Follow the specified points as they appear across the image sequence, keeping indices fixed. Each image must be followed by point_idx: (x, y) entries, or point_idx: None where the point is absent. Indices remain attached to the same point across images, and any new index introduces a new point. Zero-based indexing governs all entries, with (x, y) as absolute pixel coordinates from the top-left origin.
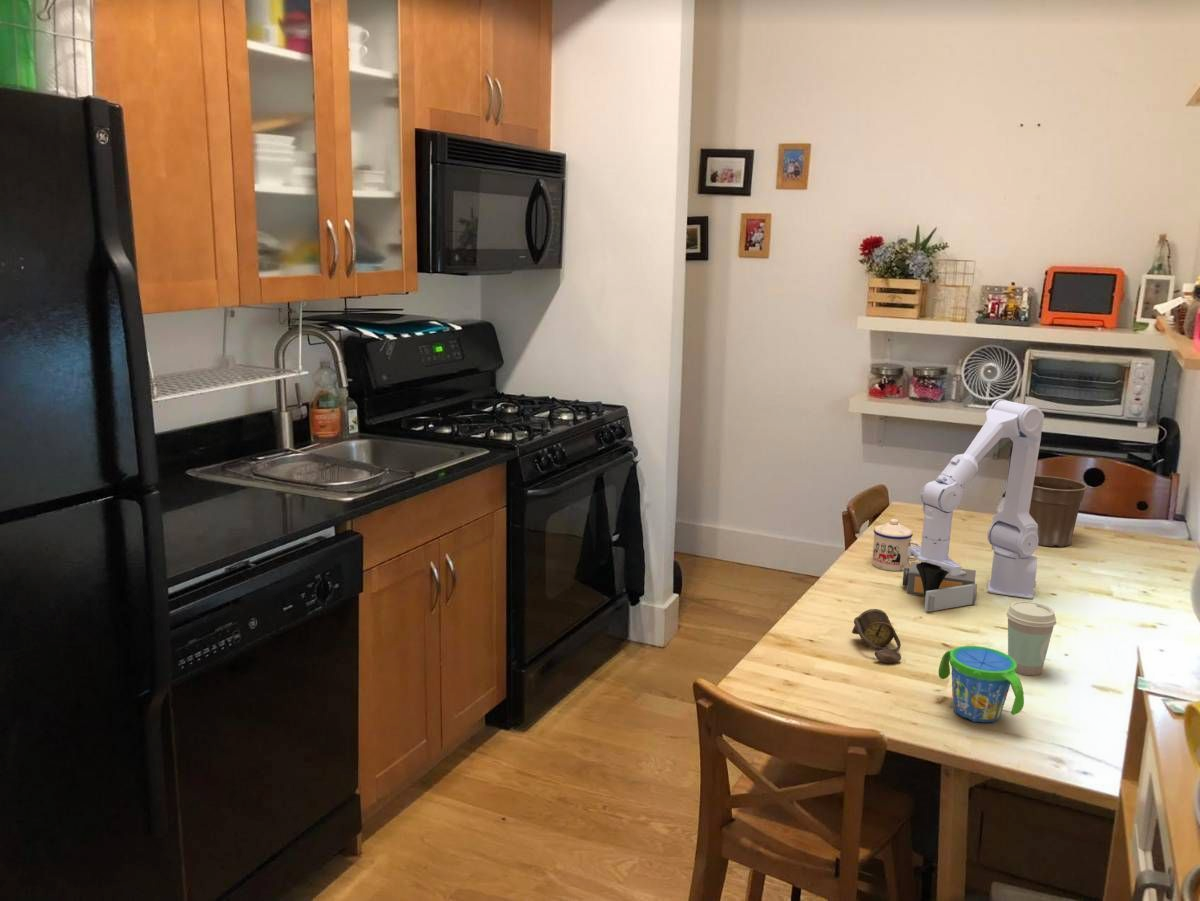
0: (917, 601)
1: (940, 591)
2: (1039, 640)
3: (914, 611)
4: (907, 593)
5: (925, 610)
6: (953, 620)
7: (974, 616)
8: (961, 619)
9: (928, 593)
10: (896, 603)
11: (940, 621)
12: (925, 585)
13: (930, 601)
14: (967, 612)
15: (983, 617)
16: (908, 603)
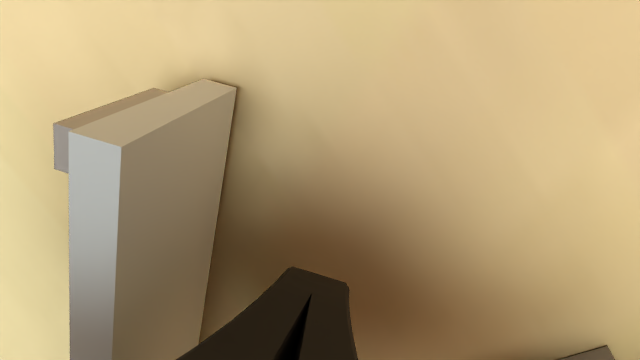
0: (431, 256)
1: (78, 301)
2: None
3: (295, 15)
4: (599, 349)
5: (218, 84)
6: (15, 121)
7: (30, 296)
8: (14, 186)
9: (84, 127)
10: (546, 49)
11: (29, 8)
12: (300, 346)
13: (118, 109)
14: None
15: (2, 319)
16: (457, 152)
